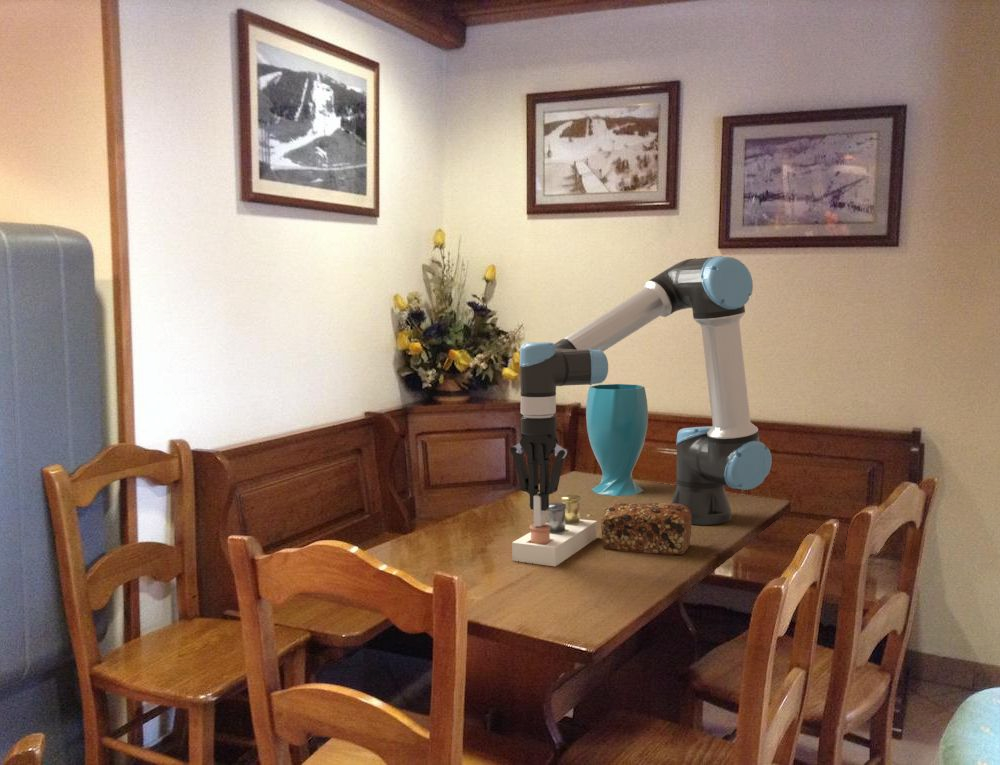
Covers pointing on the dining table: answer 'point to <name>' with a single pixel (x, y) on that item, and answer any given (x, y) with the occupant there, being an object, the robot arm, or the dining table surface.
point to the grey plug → (556, 517)
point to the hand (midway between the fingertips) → (539, 524)
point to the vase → (617, 434)
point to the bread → (647, 527)
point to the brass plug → (571, 508)
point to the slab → (555, 544)
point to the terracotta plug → (540, 534)
